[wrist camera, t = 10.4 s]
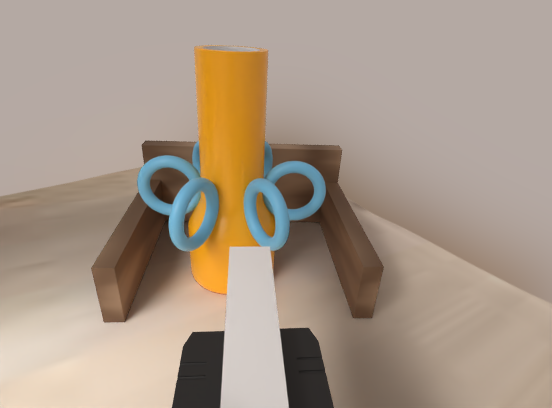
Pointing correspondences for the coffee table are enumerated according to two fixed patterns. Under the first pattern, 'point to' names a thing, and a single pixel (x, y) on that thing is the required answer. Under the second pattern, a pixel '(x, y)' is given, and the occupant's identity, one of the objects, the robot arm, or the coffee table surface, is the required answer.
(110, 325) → the coffee table surface
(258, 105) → the cylinder
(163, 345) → the coffee table surface
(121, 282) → the pocket
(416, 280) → the coffee table surface
